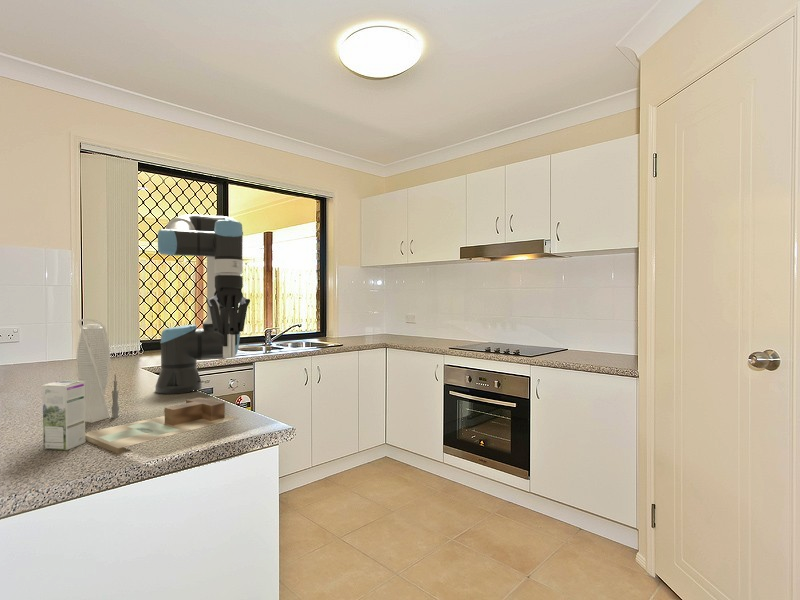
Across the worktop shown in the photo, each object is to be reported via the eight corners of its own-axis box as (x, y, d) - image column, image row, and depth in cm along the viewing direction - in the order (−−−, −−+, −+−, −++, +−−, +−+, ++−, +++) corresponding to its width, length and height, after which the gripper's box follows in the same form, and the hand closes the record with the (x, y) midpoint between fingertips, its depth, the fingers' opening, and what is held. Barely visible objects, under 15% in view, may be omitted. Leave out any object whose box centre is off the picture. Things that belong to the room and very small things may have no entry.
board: (198, 412, 133) (198, 408, 133) (239, 422, 122) (239, 418, 122) (81, 438, 108) (81, 433, 108) (118, 454, 97) (118, 448, 97)
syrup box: (86, 442, 105) (86, 379, 105) (65, 451, 99) (65, 384, 99) (63, 441, 106) (63, 379, 106) (41, 450, 100) (41, 384, 100)
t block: (199, 411, 129) (199, 397, 129) (224, 417, 122) (224, 402, 122) (156, 420, 119) (156, 405, 119) (181, 428, 112) (181, 412, 112)
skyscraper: (94, 429, 116) (94, 319, 116) (67, 427, 118) (67, 319, 117) (120, 420, 124) (120, 317, 124) (95, 418, 126) (95, 317, 126)
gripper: (214, 273, 122) (215, 361, 122) (257, 275, 134) (257, 355, 134) (199, 274, 127) (199, 359, 127) (241, 276, 138) (241, 354, 138)
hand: (229, 357), depth 130 cm, fingers closed
